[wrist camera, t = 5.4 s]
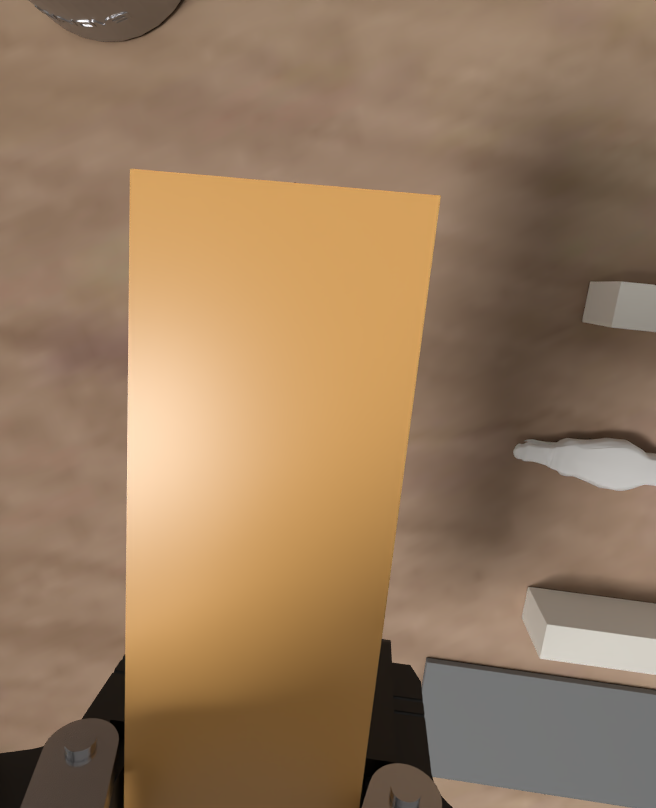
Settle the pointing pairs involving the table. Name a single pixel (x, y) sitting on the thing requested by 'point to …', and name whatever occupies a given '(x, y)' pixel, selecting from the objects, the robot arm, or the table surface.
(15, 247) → the table surface
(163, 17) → the robot arm
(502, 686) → the mat
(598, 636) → the rails
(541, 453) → the white tapered spike
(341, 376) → the bar
